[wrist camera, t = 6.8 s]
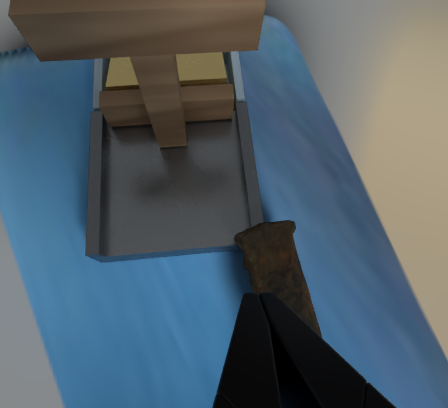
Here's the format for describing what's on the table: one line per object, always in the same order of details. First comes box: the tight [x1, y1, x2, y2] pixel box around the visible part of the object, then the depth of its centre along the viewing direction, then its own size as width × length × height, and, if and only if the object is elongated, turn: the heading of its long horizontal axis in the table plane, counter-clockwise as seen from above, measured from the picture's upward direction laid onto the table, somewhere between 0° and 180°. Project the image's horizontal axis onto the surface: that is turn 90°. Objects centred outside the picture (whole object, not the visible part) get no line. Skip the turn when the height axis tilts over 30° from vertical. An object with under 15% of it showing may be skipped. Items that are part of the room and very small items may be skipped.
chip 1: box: [106, 57, 140, 91], centre depth 24 cm, size 4×4×3 cm
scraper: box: [8, 0, 265, 148], centre depth 18 cm, size 3×10×11 cm, turn 96°
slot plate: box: [85, 102, 264, 262], centre depth 23 cm, size 10×11×3 cm
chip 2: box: [176, 52, 227, 87], centre depth 25 cm, size 4×4×3 cm
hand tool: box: [234, 220, 322, 338], centre depth 17 cm, size 19×4×5 cm, turn 10°
